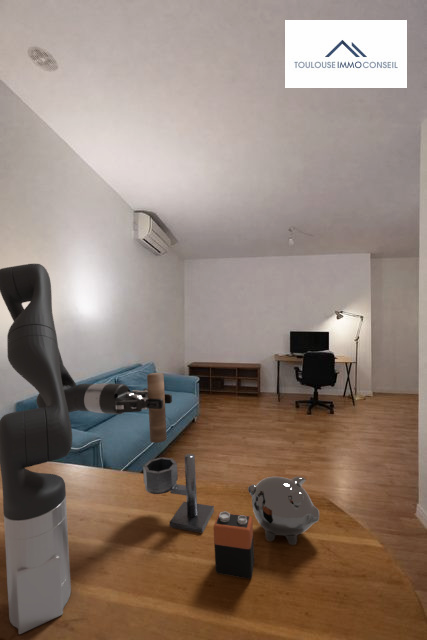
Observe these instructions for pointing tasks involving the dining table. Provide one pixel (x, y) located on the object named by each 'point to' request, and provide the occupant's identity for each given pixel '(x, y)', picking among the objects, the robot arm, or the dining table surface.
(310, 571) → the dining table surface
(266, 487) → the piggy bank
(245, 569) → the battery
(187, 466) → the cup bracket
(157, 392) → the rail post
